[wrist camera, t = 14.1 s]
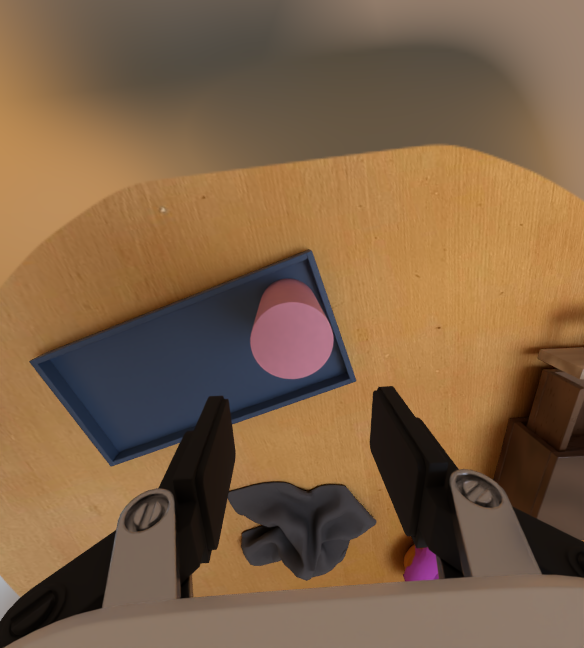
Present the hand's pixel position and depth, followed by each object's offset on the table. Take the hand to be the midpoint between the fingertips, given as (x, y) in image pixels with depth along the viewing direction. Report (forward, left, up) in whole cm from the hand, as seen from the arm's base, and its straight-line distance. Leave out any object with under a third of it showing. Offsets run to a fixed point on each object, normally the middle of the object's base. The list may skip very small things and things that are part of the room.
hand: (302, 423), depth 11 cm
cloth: (+34, 0, -20) cm, 39 cm away
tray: (+7, -10, -20) cm, 23 cm away
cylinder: (0, 0, -19) cm, 19 cm away
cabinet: (+24, +35, -20) cm, 46 cm away
